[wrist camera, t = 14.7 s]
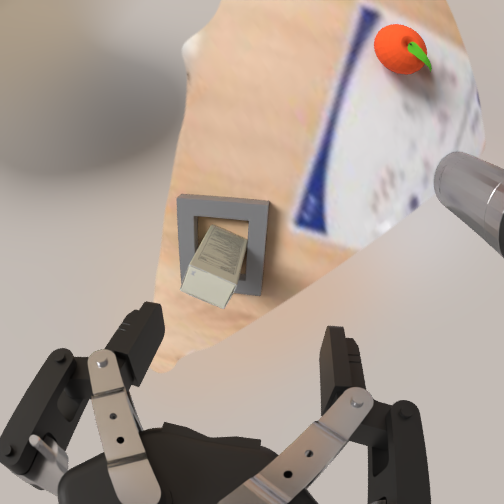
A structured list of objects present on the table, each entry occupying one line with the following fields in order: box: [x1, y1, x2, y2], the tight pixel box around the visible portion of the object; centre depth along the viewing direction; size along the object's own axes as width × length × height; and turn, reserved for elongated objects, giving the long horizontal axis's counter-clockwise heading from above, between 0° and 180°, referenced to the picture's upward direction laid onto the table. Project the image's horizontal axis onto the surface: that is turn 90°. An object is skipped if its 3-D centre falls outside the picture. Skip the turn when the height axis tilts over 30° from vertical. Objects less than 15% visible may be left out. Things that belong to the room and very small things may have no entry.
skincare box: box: [180, 225, 248, 309], centre depth 40 cm, size 6×4×12 cm
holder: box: [177, 194, 269, 296], centre depth 45 cm, size 13×15×2 cm
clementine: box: [374, 24, 432, 74], centre depth 26 cm, size 8×7×7 cm
